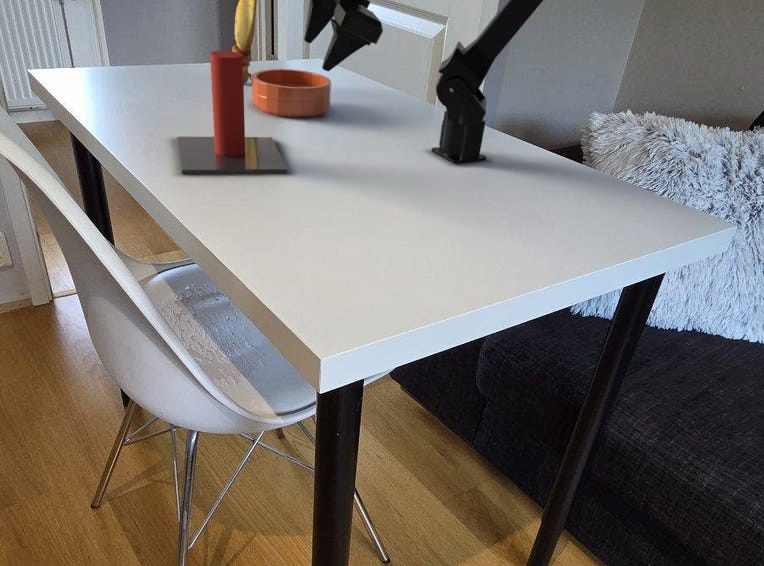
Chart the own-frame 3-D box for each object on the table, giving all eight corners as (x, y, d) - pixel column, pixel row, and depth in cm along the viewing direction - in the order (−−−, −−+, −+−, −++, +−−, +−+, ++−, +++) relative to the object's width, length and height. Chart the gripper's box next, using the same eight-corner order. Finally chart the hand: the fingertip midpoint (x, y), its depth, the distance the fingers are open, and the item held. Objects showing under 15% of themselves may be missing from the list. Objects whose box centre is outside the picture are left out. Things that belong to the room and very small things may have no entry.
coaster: (271, 140, 102) (271, 137, 102) (287, 173, 91) (287, 169, 91) (177, 140, 98) (176, 136, 98) (181, 174, 87) (181, 169, 87)
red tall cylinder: (248, 149, 96) (246, 53, 89) (240, 158, 93) (237, 59, 85) (220, 145, 96) (216, 49, 89) (210, 154, 93) (205, 54, 85)
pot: (343, 116, 117) (345, 86, 114) (272, 121, 111) (272, 90, 108) (307, 95, 126) (308, 67, 123) (240, 99, 120) (239, 70, 117)
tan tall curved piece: (261, 88, 127) (260, -31, 116) (234, 89, 125) (231, -33, 114) (251, 79, 132) (249, -36, 121) (225, 79, 130) (221, -38, 119)
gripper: (295, -102, 91) (252, 7, 100) (338, -54, 80) (285, 64, 89) (361, -63, 98) (315, 36, 107) (408, -14, 87) (353, 93, 96)
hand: (315, 55), depth 99 cm, fingers open, 9 cm apart
